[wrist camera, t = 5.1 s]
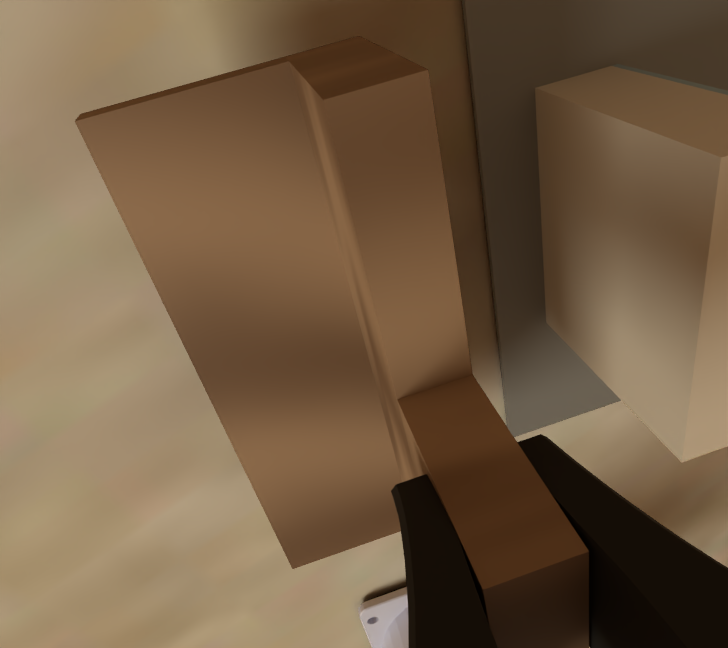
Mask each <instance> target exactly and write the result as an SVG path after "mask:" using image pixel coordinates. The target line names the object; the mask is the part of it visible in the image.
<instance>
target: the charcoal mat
mask: <svg viewBox="0 0 728 648" xmlns="http://www.w3.org/2000/svg"><path fill="white" fill-rule="evenodd" d="M462 6H463V15H464V25H465V34H466V44H467V53H468V62H469V72H470V81H471V91H472V100H473V110H474V119H475V129H476V138H477V147H478V157H479V166H480V176H481V185H482V195H483V204H484V214H485V223H486V232H487V242H488V251H489V261H490V270H491V280H492V289H493V299H494V308H495V317H496V327H497V336H498V346H499V355H500V365H501V374H502V384H503V393H504V402H505V412H506V421H507V428H508V429H509V431H510V432H511V434H512V435H513V437H516V436H519V435H522V434H524V433H527V432H530V431H533V430H536V429H539V428H542V427H545V426H548V425H551V424H554V423H557V422H560V421H563V420H565V419H568V418H571V417H574V416H577V415H580V414H583V413H586V412H589V411H592V410H595V409H598V408H601V407H603V406H606V405H609V404H612V403H615V402H618V401H621V399H620V398H619V397H618V396H617V395H616V394H615V393H614V392H613V391H612V390H611V389H610V388H609V387H608V386H607V385H606V384H605V383H604V382H603V381H602V380H601V379H600V378H599V377H598V376H597V375H596V374H595V373H594V371H593V370H592V369H591V368H590V367H589V366H588V365H587V364H586V363H585V362H584V361H583V360H582V359H581V358H580V357H579V356H578V355H577V354H576V353H575V352H574V351H573V350H572V349H571V348H570V347H569V346H568V345H567V344H566V342H565V341H564V340H563V339H562V338H561V337H560V336H559V335H558V334H557V333H556V332H555V331H554V330H553V329H552V328H551V327H550V326H549V325H548V324H547V323H546V307H545V286H544V266H543V245H542V224H541V203H540V182H539V161H538V141H537V120H536V99H535V88H537V87H540V86H544V85H547V84H551V83H554V82H558V81H561V80H564V79H568V78H571V77H575V76H578V75H582V74H585V73H588V72H592V71H595V70H599V69H602V68H606V67H609V66H613V65H616V64H620V65H624V66H628V67H632V68H637V69H641V70H645V71H649V72H653V73H657V74H661V75H665V76H669V77H674V78H678V79H682V80H686V81H690V82H694V83H698V84H702V85H707V86H711V87H715V88H719V89H723V90H727V91H728V0H462Z"/></svg>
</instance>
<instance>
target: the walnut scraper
mask: <svg viewBox="0 0 728 648" xmlns="http://www.w3.org/2000/svg"><path fill="white" fill-rule="evenodd" d="M75 123H76V125H77V127H78V129H79V131H80V133H81V135H82V137H83V139H84V141H85V143H86V145H87V147H88V149H89V151H90V153H91V156H92V158H93V160H94V162H95V164H96V166H97V168H98V170H99V172H100V174H101V176H102V178H103V180H104V182H105V184H106V186H107V188H108V190H109V193H110V195H111V197H112V199H113V201H114V203H115V205H116V207H117V209H118V211H119V213H120V215H121V217H122V219H123V221H124V223H125V225H126V227H127V230H128V232H129V234H130V236H131V238H132V240H133V242H134V244H135V246H136V248H137V250H138V252H139V254H140V256H141V258H142V260H143V262H144V264H145V267H146V269H147V271H148V273H149V275H150V277H151V279H152V281H153V283H154V285H155V287H156V289H157V291H158V293H159V295H160V297H161V299H162V301H163V304H164V306H165V308H166V310H167V312H168V314H169V316H170V318H171V320H172V322H173V324H174V326H175V328H176V330H177V332H178V334H179V336H180V338H181V341H182V343H183V345H184V347H185V349H186V351H187V353H188V355H189V357H190V359H191V361H192V363H193V365H194V367H195V369H196V371H197V373H198V375H199V378H200V380H201V382H202V384H203V386H204V388H205V390H206V392H207V394H208V396H209V398H210V400H211V402H212V404H213V406H214V408H215V410H216V412H217V415H218V417H219V419H220V421H221V423H222V425H223V427H224V429H225V431H226V433H227V435H228V437H229V439H230V441H231V443H232V445H233V447H234V449H235V452H236V454H237V456H238V458H239V460H240V462H241V464H242V466H243V468H244V470H245V472H246V474H247V476H248V478H249V480H250V482H251V484H252V486H253V489H254V491H255V493H256V495H257V497H258V499H259V501H260V503H261V505H262V507H263V509H264V511H265V513H266V515H267V517H268V519H269V521H270V523H271V526H272V528H273V530H274V532H275V534H276V536H277V538H278V540H279V542H280V544H281V546H282V548H283V550H284V552H285V554H286V556H287V558H288V560H289V563H290V565H291V567H292V569H294V568H297V567H300V566H303V565H306V564H308V563H311V562H314V561H317V560H320V559H323V558H325V557H328V556H331V555H334V554H337V553H340V552H343V551H345V550H348V549H351V548H354V547H357V546H360V545H362V544H365V543H368V542H371V541H374V540H377V539H380V538H382V537H385V536H388V535H391V534H394V533H397V532H399V531H401V528H400V522H399V517H398V514H397V510H396V507H395V503H394V500H393V496H392V493H391V490H392V489H393V488H394V486H395V485H396V484H399V483H401V482H404V481H407V480H410V479H413V478H416V477H419V476H422V475H425V474H427V475H428V477H429V479H430V481H431V482H432V484H433V486H434V488H435V490H436V492H437V494H438V496H439V498H440V500H441V502H442V504H443V506H444V508H445V510H446V512H447V514H448V516H449V518H450V520H451V522H452V524H453V526H454V528H455V530H456V533H457V536H458V539H459V542H460V544H461V547H462V550H463V553H464V556H465V559H466V561H467V564H468V567H469V570H470V573H471V576H472V578H473V581H474V584H475V587H476V590H477V593H478V595H479V598H480V601H481V604H482V607H483V610H484V613H485V615H486V618H487V621H488V624H489V627H490V629H491V632H492V634H493V637H494V639H495V642H496V644H497V647H498V648H589V551H588V549H587V548H586V546H585V545H584V543H583V542H582V540H581V538H580V537H579V535H578V534H577V532H576V531H575V529H574V528H573V526H572V525H571V523H570V522H569V520H568V519H567V517H566V516H565V514H564V513H563V511H562V510H561V508H560V507H559V505H558V504H557V502H556V501H555V499H554V498H553V496H552V494H551V493H550V491H549V490H548V488H547V487H546V485H545V484H544V482H543V481H542V479H541V478H540V476H539V475H538V473H537V472H536V470H535V469H534V467H533V466H532V464H531V463H530V461H529V460H528V458H527V457H526V455H525V454H524V452H523V450H522V449H521V447H520V446H519V444H518V443H517V441H516V440H515V438H514V437H513V435H512V434H511V432H510V431H509V429H508V428H507V426H506V425H505V423H504V422H503V420H502V419H501V417H500V416H499V414H498V413H497V411H496V410H495V408H494V407H493V405H492V403H491V402H490V400H489V399H488V397H487V396H486V394H485V393H484V391H483V390H482V388H481V387H480V385H479V384H478V382H477V381H476V379H475V378H474V376H473V374H472V367H471V360H470V353H469V347H468V340H467V333H466V326H465V319H464V312H463V305H462V298H461V291H460V285H459V278H458V271H457V264H456V257H455V250H454V243H453V236H452V230H451V223H450V216H449V209H448V202H447V195H446V188H445V181H444V174H443V168H442V161H441V154H440V147H439V140H438V133H437V126H436V119H435V112H434V106H433V99H432V92H431V85H430V78H429V71H428V69H426V68H424V67H422V66H420V65H418V64H415V63H413V62H411V61H409V60H407V59H405V58H403V57H401V56H399V55H397V54H395V53H393V52H391V51H389V50H387V49H385V48H383V47H381V46H378V45H376V44H374V43H372V42H370V41H368V40H366V39H364V38H362V37H360V36H357V37H353V38H350V39H346V40H343V41H339V42H336V43H332V44H328V45H325V46H321V47H318V48H314V49H311V50H307V51H303V52H300V53H296V54H293V55H289V56H286V57H282V58H278V59H275V60H271V61H268V62H264V63H261V64H257V65H254V66H250V67H246V68H243V69H239V70H236V71H232V72H229V73H225V74H221V75H218V76H214V77H211V78H207V79H204V80H200V81H196V82H193V83H189V84H186V85H182V86H179V87H175V88H172V89H168V90H164V91H161V92H157V93H154V94H150V95H147V96H143V97H139V98H136V99H132V100H129V101H125V102H122V103H118V104H114V105H111V106H107V107H104V108H100V109H97V110H93V111H90V112H86V113H82V114H80V115H79V117H78V118H77V119H76V121H75Z"/></svg>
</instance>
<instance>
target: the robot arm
mask: <svg viewBox="0 0 728 648" xmlns="http://www.w3.org/2000/svg"><path fill="white" fill-rule="evenodd" d="M517 443H518V444H519V446H520V447H521V449H522V450H523V452H524V454H525V455H526V457H527V458H528V460H529V461H530V463H531V464H532V466H533V467H534V469H535V470H536V472H537V473H538V475H539V476H540V478H541V479H542V481H543V482H544V484H545V485H546V487H547V488H548V490H549V491H550V493H551V494H552V496H553V498H554V499H555V501H556V502H557V504H558V505H559V507H560V508H561V510H562V511H563V513H564V514H565V516H566V517H567V519H568V520H569V522H570V523H571V525H572V526H573V528H574V529H575V531H576V532H577V534H578V535H579V537H580V538H581V540H582V542H583V543H584V545H585V546H586V548H587V549H588V551H589V647H590V648H728V568H727V567H726V566H724V565H722V564H721V563H719V562H717V561H716V560H714V559H713V558H711V557H710V556H708V555H707V554H705V553H703V552H702V551H700V550H699V549H697V548H696V547H694V546H693V545H691V544H690V543H688V542H686V541H685V540H683V539H682V538H680V537H679V536H677V535H676V534H674V533H673V532H672V531H670V530H669V529H667V528H666V527H664V526H663V525H661V524H660V523H658V522H657V521H656V520H654V519H653V518H651V517H650V516H649V515H647V514H646V513H644V512H643V511H642V510H640V509H639V508H637V507H636V506H634V505H633V504H632V503H630V502H629V501H627V500H626V499H625V498H623V497H622V496H621V495H619V494H618V493H617V492H615V491H614V490H613V489H611V488H610V487H609V486H607V485H606V484H605V483H603V482H602V481H601V480H599V479H598V478H597V477H596V476H594V475H593V474H592V473H590V472H589V471H588V470H587V469H585V468H584V467H583V466H581V465H580V464H579V463H578V462H576V461H575V460H574V459H573V458H571V457H570V456H569V455H568V454H567V453H565V452H564V451H563V450H562V449H560V448H559V447H558V446H557V445H556V444H554V443H553V442H552V441H551V440H550V439H548V438H547V437H545V436H543V435H541V434H540V435H537V436H535V437H532V438H529V439H526V440H523V441H520V442H517ZM391 493H392V496H393V500H394V503H395V507H396V510H397V514H398V517H399V522H400V528H401V534H402V541H403V549H404V558H405V569H406V584H407V587H405V588H402V589H399V590H396V591H393V592H391V593H388V594H385V595H382V596H379V597H377V598H374V599H371V600H368V601H366V602H364V603H362V604H361V605H360V606H359V608H358V612H359V616H360V619H361V622H362V624H363V627H364V629H365V632H366V634H367V637H368V639H369V642H370V644H371V647H372V648H498V647H497V644H496V642H495V639H494V637H493V634H492V632H491V629H490V627H489V624H488V621H487V618H486V615H485V613H484V610H483V607H482V604H481V601H480V598H479V595H478V593H477V590H476V587H475V584H474V581H473V578H472V576H471V573H470V570H469V567H468V564H467V561H466V559H465V556H464V553H463V550H462V547H461V544H460V542H459V539H458V536H457V533H456V530H455V528H454V526H453V524H452V522H451V520H450V518H449V516H448V514H447V512H446V510H445V508H444V506H443V504H442V502H441V500H440V498H439V496H438V494H437V492H436V490H435V488H434V486H433V484H432V482H431V481H430V479H429V477H428V475H427V474H425V475H422V476H419V477H416V478H413V479H410V480H407V481H404V482H401V483H399V484H396V485H395V486H394V488H393V489H392V490H391Z"/></svg>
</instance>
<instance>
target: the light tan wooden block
mask: <svg viewBox="0 0 728 648" xmlns="http://www.w3.org/2000/svg"><path fill="white" fill-rule="evenodd" d="M535 99H536V120H537V141H538V161H539V182H540V203H541V224H542V245H543V266H544V286H545V307H546V323H547V324H548V325H549V326H550V327H551V328H552V329H553V330H554V331H555V332H556V333H557V334H558V335H559V336H560V337H561V338H562V339H563V340H564V341H565V342H566V344H567V345H568V346H569V347H570V348H571V349H572V350H573V351H574V352H575V353H576V354H577V355H578V356H579V357H580V358H581V359H582V360H583V361H584V362H585V363H586V364H587V365H588V366H589V367H590V368H591V369H592V370H593V371H594V373H595V374H596V375H597V376H598V377H599V378H600V379H601V380H602V381H603V382H604V383H605V384H606V385H607V386H608V387H609V388H610V389H611V390H612V391H613V392H614V393H615V394H616V395H617V396H618V397H619V398H620V399H621V400H622V401H623V403H624V404H625V405H626V406H627V407H628V408H629V409H630V410H631V411H632V412H633V413H634V414H635V415H636V416H637V417H638V418H639V419H640V420H641V421H642V422H643V423H644V424H645V425H646V426H647V427H648V428H649V429H650V430H651V431H652V433H653V434H654V435H655V436H656V437H657V438H658V439H659V440H660V441H661V442H662V443H663V444H664V445H665V446H666V447H667V448H668V449H669V450H670V451H671V452H672V453H673V454H674V455H675V456H676V457H677V458H678V459H679V460H680V462H681V463H682V462H685V461H688V460H691V459H694V458H696V457H699V456H702V455H705V454H708V453H710V452H713V451H716V450H719V449H722V448H725V447H727V446H728V91H727V90H723V89H719V88H715V87H711V86H707V85H702V84H698V83H694V82H690V81H686V80H682V79H678V78H674V77H669V76H665V75H661V74H657V73H653V72H649V71H645V70H641V69H637V68H632V67H628V66H624V65H620V64H616V65H613V66H609V67H606V68H602V69H599V70H595V71H592V72H588V73H585V74H582V75H578V76H575V77H571V78H568V79H564V80H561V81H558V82H554V83H551V84H547V85H544V86H540V87H537V88H535Z"/></svg>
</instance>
